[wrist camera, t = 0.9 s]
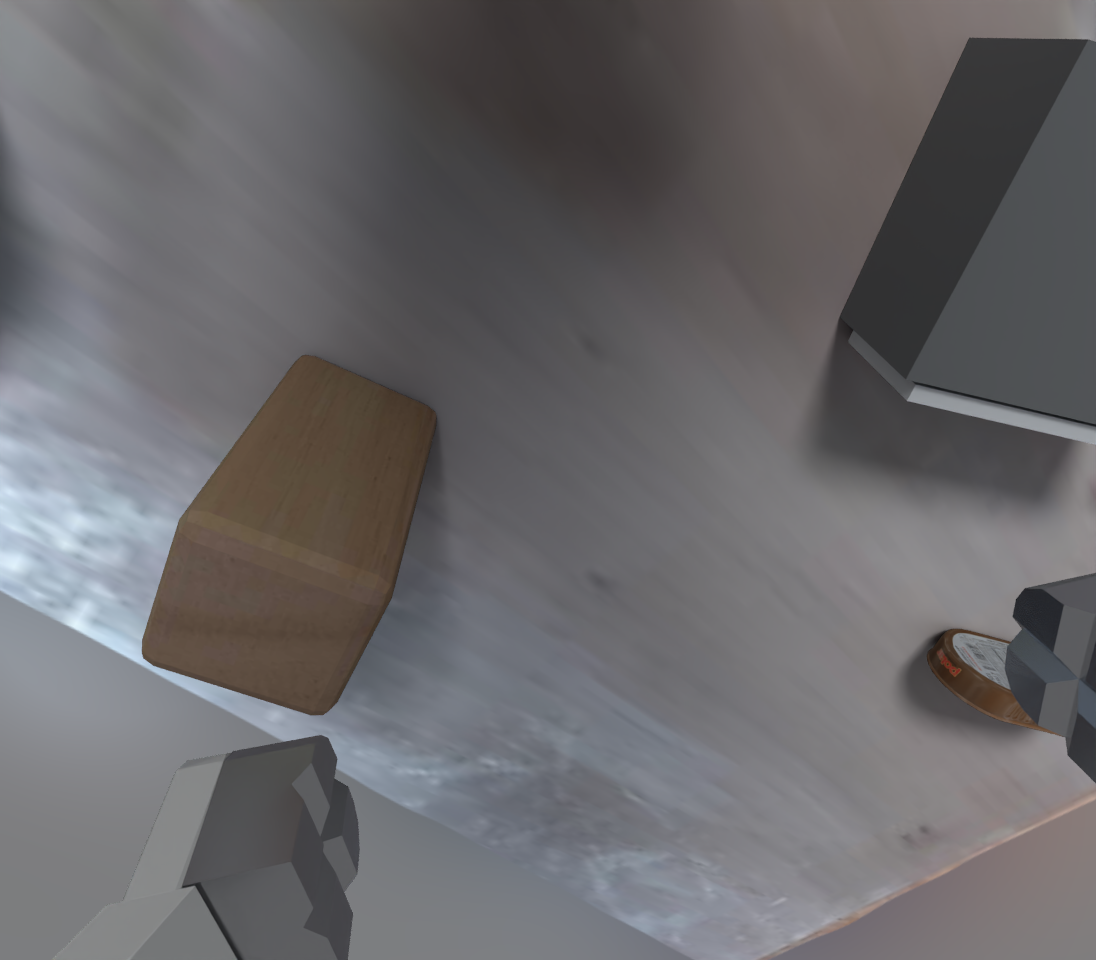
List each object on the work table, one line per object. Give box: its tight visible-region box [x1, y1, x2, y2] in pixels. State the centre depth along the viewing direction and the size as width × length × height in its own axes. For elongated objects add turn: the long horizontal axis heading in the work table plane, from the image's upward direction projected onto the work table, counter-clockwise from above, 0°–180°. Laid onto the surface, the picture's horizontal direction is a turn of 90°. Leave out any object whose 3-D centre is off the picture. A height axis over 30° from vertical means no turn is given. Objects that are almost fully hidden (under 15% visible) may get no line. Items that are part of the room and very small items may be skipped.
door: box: [848, 330, 1096, 445], centre depth 45 cm, size 2×18×9 cm, turn 76°
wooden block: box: [142, 355, 436, 715], centre depth 43 cm, size 10×10×20 cm
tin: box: [927, 629, 1064, 737], centre depth 60 cm, size 15×3×8 cm, turn 72°
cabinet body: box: [840, 38, 1096, 424], centre depth 40 cm, size 16×17×10 cm
